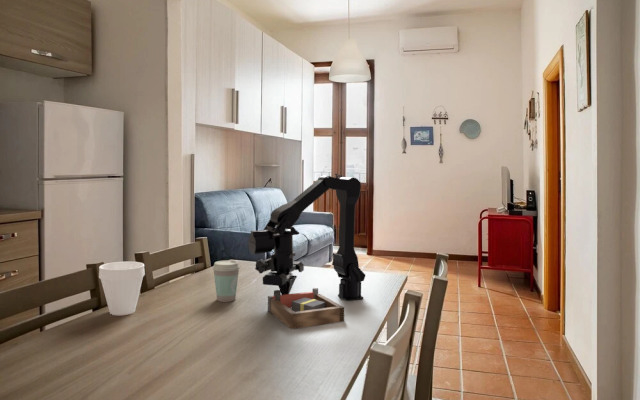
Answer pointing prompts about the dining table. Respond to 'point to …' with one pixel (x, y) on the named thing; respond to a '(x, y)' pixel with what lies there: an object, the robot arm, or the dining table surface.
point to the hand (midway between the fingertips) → (284, 300)
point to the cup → (121, 285)
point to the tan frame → (307, 313)
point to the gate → (293, 296)
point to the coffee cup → (226, 279)
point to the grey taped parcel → (307, 304)
